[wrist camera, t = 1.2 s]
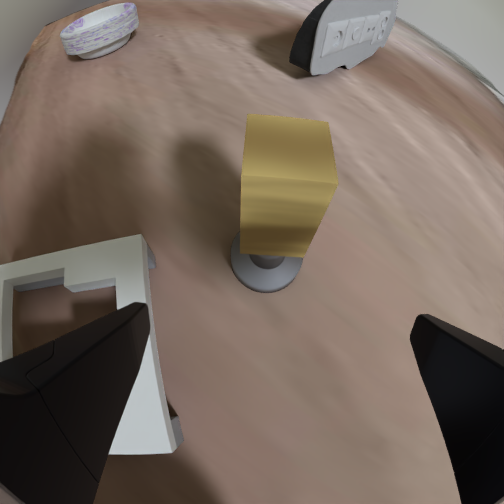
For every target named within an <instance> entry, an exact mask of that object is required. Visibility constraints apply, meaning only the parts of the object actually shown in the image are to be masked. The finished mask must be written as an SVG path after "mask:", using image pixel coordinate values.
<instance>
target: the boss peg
mask: <svg viewBox="0 0 504 504" xmlns="http://www.w3.org/2000/svg"><path fill="white" fill-rule="evenodd" d="M337 186H338V177H337V171H336V164H335V158H334V152H333V146H332V140H331V135H330V129H329V124H328V122H324V121H317V120H309V119H301V118H292V117H282V116H271V115H258V114H247V124H246V133H245V143H244V153H243V163H242V174H241V215H240V232H239V233H238V234H237V235H236V237H235V238H234V240H233V243H232V246H231V264H232V269H233V272H234V274H235V276H236V277H237V279H238V280H239V281H240V282H241V283H242V284H243V285H244V286H246V287H247V288H249V289H251V290H253V291H256V292H261V293H272V292H276V291H279V290H282V289H284V288H285V287H287V286H288V285H289V284H290V283H291V282H292V281H293V280H294V279H295V277H296V275H297V273H298V271H299V269H300V267H301V264H302V260H303V257H304V255H305V253H306V251H307V249H308V247H309V245H310V243H311V241H312V239H313V237H314V235H315V233H316V231H317V229H318V227H319V225H320V222H321V220H322V218H323V216H324V214H325V212H326V210H327V208H328V205H329V203H330V201H331V199H332V197H333V195H334V193H335V190H336V188H337Z"/></svg>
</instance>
